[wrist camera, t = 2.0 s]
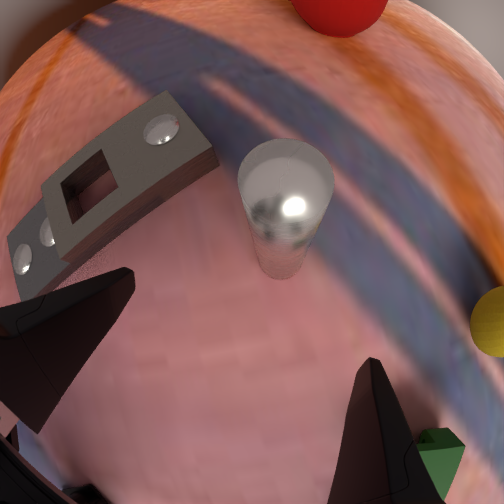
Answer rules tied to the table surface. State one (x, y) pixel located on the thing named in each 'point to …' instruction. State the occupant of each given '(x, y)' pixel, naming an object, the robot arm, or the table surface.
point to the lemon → (489, 323)
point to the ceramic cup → (340, 15)
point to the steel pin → (284, 201)
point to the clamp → (441, 456)
